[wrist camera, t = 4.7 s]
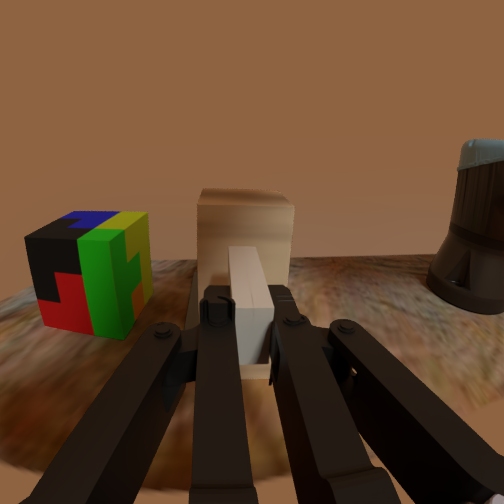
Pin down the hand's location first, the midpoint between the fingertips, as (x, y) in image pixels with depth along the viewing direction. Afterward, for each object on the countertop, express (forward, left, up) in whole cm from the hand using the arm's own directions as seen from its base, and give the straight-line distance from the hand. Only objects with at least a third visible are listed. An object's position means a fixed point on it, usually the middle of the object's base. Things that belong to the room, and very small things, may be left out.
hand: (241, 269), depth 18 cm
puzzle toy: (+18, -7, -11) cm, 23 cm away
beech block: (+2, -5, -11) cm, 12 cm away
